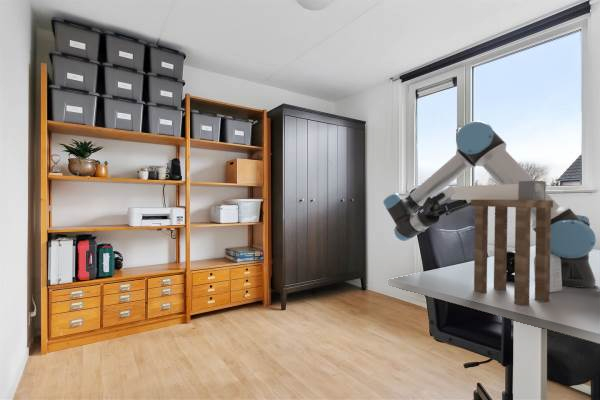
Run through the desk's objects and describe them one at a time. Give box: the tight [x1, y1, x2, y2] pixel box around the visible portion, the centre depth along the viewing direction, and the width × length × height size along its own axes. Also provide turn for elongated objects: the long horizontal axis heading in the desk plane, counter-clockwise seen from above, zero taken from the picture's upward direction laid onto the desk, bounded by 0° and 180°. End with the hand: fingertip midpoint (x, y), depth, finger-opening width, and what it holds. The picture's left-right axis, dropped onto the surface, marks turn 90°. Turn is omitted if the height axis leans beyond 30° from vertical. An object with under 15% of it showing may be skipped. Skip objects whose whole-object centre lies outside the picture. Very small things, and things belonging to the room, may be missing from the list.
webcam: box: [506, 250, 515, 283], centre depth 110 cm, size 8×8×10 cm
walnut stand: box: [470, 199, 554, 307], centre depth 91 cm, size 12×16×28 cm
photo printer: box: [533, 252, 563, 294], centre depth 98 cm, size 10×4×12 cm, turn 120°
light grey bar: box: [450, 180, 546, 201], centre depth 96 cm, size 5×27×5 cm, turn 23°
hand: (467, 189), depth 104 cm, fingers open, 13 cm apart
